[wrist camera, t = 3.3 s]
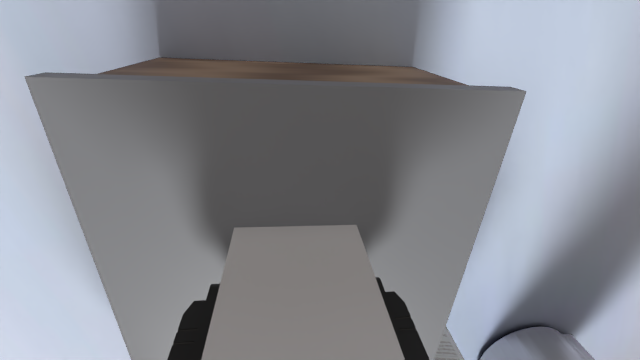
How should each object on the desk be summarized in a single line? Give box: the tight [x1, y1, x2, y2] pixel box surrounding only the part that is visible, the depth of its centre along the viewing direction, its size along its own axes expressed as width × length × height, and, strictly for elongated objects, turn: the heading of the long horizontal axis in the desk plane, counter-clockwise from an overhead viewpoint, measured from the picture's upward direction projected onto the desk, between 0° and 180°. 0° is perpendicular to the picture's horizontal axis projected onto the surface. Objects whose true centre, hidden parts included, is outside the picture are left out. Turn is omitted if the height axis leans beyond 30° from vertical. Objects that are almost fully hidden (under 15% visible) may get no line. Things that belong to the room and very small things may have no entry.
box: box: [99, 58, 469, 86], centre depth 16 cm, size 14×14×8 cm
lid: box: [25, 73, 526, 360], centre depth 10 cm, size 15×15×8 cm
